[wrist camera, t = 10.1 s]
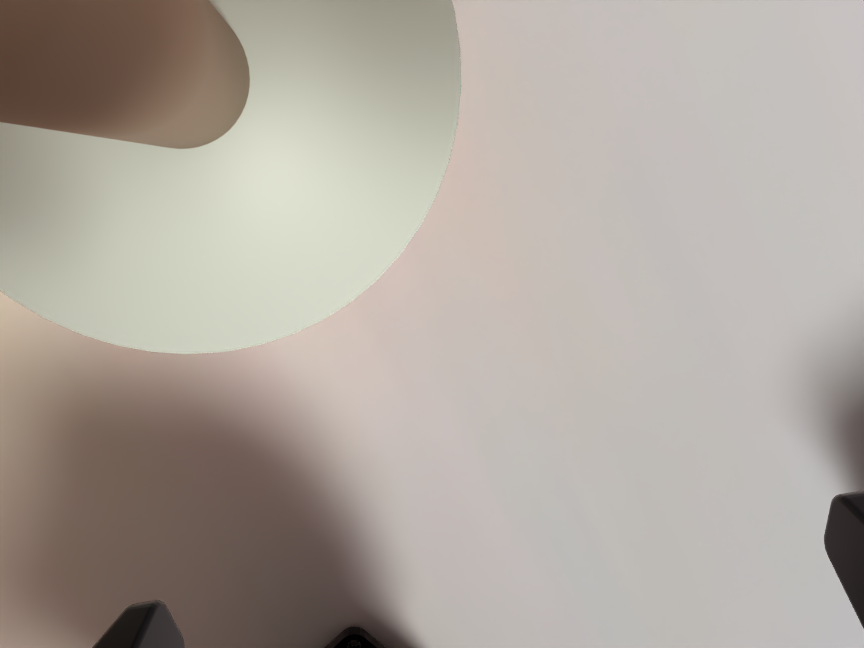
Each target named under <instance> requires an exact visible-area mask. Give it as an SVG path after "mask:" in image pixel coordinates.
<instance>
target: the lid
mask: <svg viewBox="0 0 864 648" xmlns="http://www.w3.org/2000/svg"><path fill="white" fill-rule="evenodd" d="M460 94H461V61H460V45H459V38H458V31H457V24H456V18H455V11H454V7H453V4H452V0H0V291H1V292H3V293H4V294H5V295H7V296H8V297H9V298H11V299H12V300H14V301H16V302H17V303H19V304H21V305H23V306H24V307H26V308H28V309H29V310H31V311H33V312H34V313H36V314H38V315H39V316H41V317H43V318H45V319H47V320H49V321H51V322H54V323H56V324H58V325H60V326H63V327H65V328H67V329H69V330H72V331H74V332H76V333H78V334H81V335H84V336H87V337H91V338H94V339H97V340H100V341H104V342H107V343H110V344H113V345H117V346H122V347H128V348H133V349H139V350H144V351H150V352H161V353H177V354H200V353H216V352H227V351H232V350H237V349H243V348H248V347H253V346H259V345H262V344H265V343H268V342H271V341H274V340H277V339H280V338H283V337H286V336H290V335H292V334H294V333H297V332H299V331H301V330H303V329H305V328H307V327H309V326H311V325H314V324H316V323H318V322H320V321H322V320H324V319H325V318H327V317H328V316H330V315H332V314H333V313H335V312H336V311H338V310H339V309H341V308H342V307H344V306H346V305H347V304H349V303H350V302H352V301H353V300H354V299H355V298H356V297H358V296H359V295H360V294H361V293H362V292H364V291H365V290H366V289H367V288H368V287H370V286H371V285H372V284H373V283H374V282H375V281H377V280H378V279H379V278H380V277H381V275H382V274H383V273H384V272H385V271H386V270H387V269H388V268H389V267H390V266H391V264H392V263H393V262H394V261H395V260H396V259H397V258H398V257H399V256H400V255H401V253H402V252H403V250H404V249H405V248H406V246H407V245H408V243H409V242H410V240H411V239H412V238H413V236H414V235H415V233H416V232H417V230H418V229H419V227H420V226H421V224H422V222H423V220H424V218H425V217H426V215H427V213H428V211H429V209H430V207H431V205H432V203H433V201H434V199H435V197H436V195H437V193H438V190H439V188H440V185H441V182H442V179H443V177H444V174H445V171H446V168H447V166H448V163H449V160H450V156H451V151H452V147H453V142H454V138H455V134H456V129H457V125H458V115H459V105H460Z"/></svg>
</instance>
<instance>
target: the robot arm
mask: <svg viewBox="0 0 864 648" xmlns="http://www.w3.org/2000/svg"><path fill="white" fill-rule="evenodd" d="M824 544H825V549H826V552H827V555H828V557H829V559H830V561H831V563H832V565H833V567H834V569H835V571H836V573H837V575H838V577H839V579H840V582H841V584H842V586H843V588H844V590H845V592H846V594H847V596H848V598H849V600H850V602H851V604H852V606H853V608H854V610H855V612H856V614H857V616H858V618H859V620H860V622H861V624H862V626H863V628H864V491H857V492H851V493H844V494H839V495H836V496H835V497H834V498H833V499H832V502H831V506H830V511H829V516H828V520H827V525H826V530H825V535H824ZM353 640H356V641H359V642H360V643H359V644H358V645H356V646H352V645H349V644H348V643H349V642H350V641H353ZM92 648H184V641H183V637H182V635H181V633H180V631H179V629H178V627H177V625H176V624H175V622H174V620H173V618H172V616H171V614H170V612H169V610H168V609H167V607H166V605H165V604H164V603H163V602H161V601H159V600H155V601H148V602H142V603H136V604H133V605H131V606H129V607H128V608H127V609H125V610H124V611H123V613H122V614H121V615H120V616H119V617H118V618H117V620H116V621H115V622H114V623H113V624H112V625H111V627H110V628H109V629H108V630H107V631H106V632H105V634H104V635H103V636H102V637H101V638H100V639H99V640H98V642H97V643H96V644H95V645H94V646H93V647H92ZM326 648H386V647H384V646H383V645H382V644H381V643H380V642H378V641H377V640H376V639H375V638H374V637H372V636H371V635H370V634H369V633H368V632H366V631H365V630H364V629H362V628H360V627H350V628H347V629H346V630H344V631H343V632H342V633H341V634H340V635H339V636H338V637H337V638H335V639H334V640H333V641H332V642H331V643H330V644H329V645H328V646H327V647H326Z"/></svg>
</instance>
